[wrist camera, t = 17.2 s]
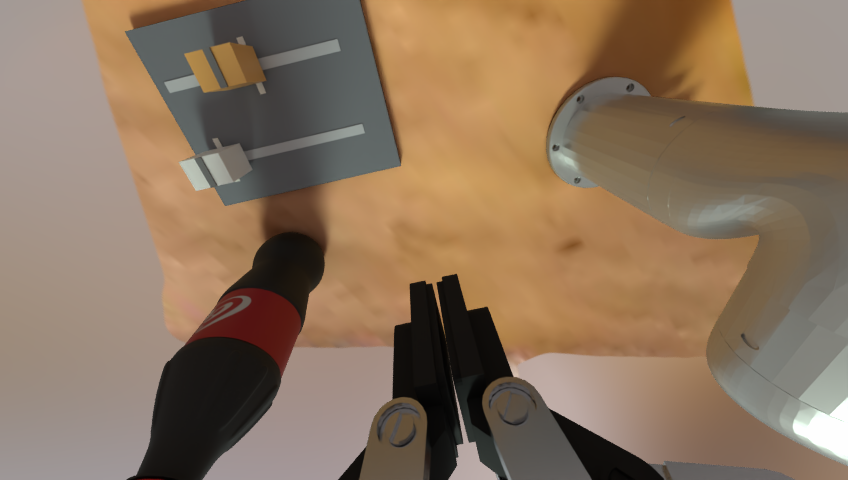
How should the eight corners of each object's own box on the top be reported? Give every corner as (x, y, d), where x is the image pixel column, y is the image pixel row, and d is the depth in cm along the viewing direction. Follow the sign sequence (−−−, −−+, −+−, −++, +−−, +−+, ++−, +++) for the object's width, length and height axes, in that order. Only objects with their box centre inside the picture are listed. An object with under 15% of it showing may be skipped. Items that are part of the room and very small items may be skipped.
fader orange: (252, 46, 29) (228, 42, 25) (266, 80, 31) (245, 82, 27) (212, 56, 29) (182, 53, 25) (229, 90, 31) (202, 93, 27)
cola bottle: (254, 231, 40) (-14, 525, 14) (317, 221, 40) (164, 499, 14) (278, 282, 45) (104, 583, 18) (336, 273, 44) (242, 563, 18)
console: (354, -24, 29) (352, -28, 27) (400, 163, 37) (400, 166, 36) (134, 32, 30) (123, 31, 28) (229, 202, 38) (224, 206, 37)
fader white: (239, 143, 33) (216, 153, 29) (252, 169, 35) (232, 182, 31) (204, 151, 34) (177, 162, 29) (219, 177, 35) (195, 191, 31)
